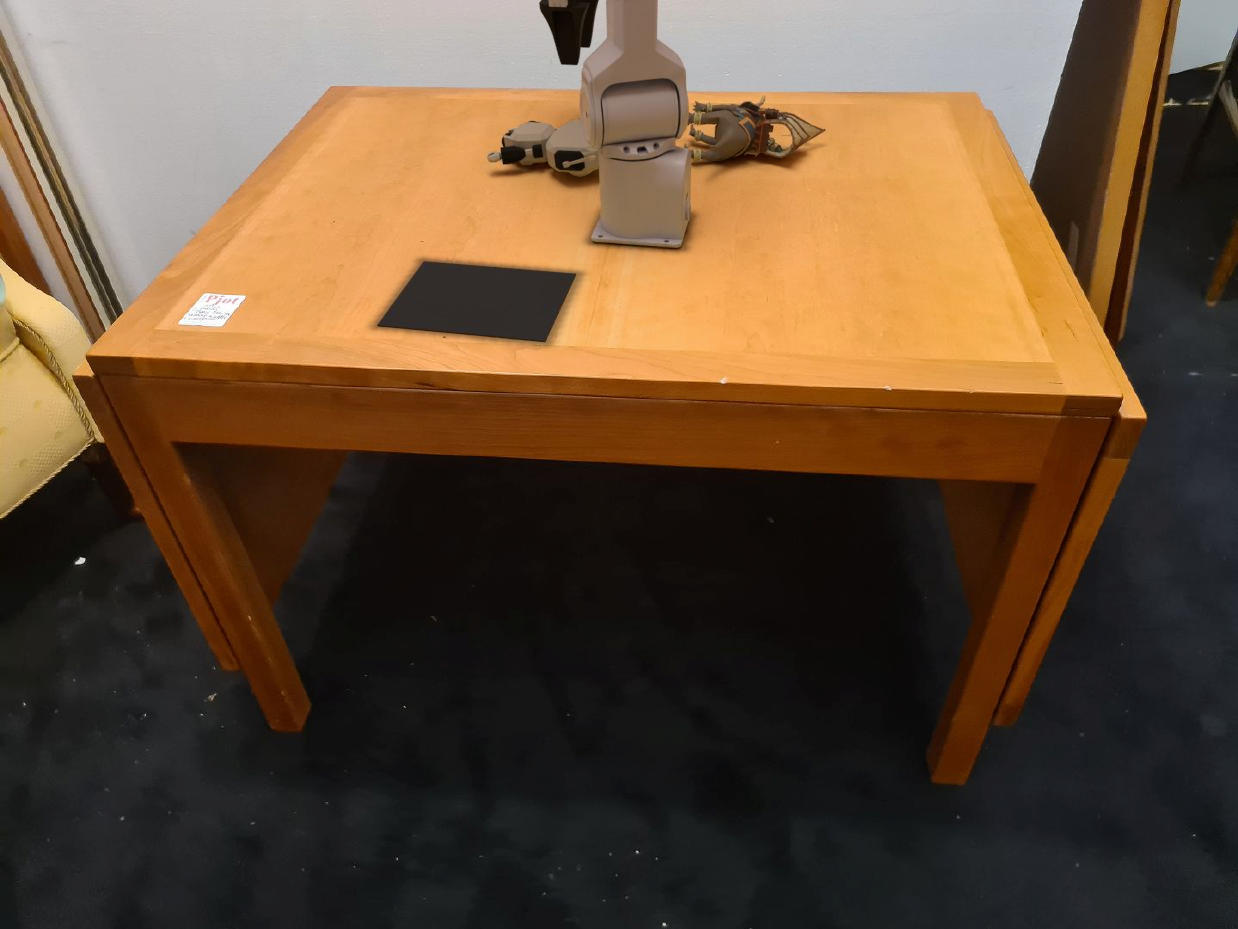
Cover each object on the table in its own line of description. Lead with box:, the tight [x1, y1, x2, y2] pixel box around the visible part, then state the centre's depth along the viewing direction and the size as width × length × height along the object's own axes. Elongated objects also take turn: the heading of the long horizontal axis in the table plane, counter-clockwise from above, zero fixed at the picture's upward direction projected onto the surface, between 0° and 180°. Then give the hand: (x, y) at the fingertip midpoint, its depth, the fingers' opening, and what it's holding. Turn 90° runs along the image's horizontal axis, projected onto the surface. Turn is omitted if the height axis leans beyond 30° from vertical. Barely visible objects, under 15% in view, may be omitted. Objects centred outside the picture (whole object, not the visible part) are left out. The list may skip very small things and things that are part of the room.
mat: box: [377, 260, 577, 343], centre depth 83 cm, size 16×12×1 cm
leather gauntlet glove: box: [683, 95, 826, 163], centre depth 105 cm, size 20×6×17 cm
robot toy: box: [487, 117, 599, 178], centre depth 105 cm, size 12×4×15 cm
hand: (576, 55), depth 107 cm, fingers open, 6 cm apart
